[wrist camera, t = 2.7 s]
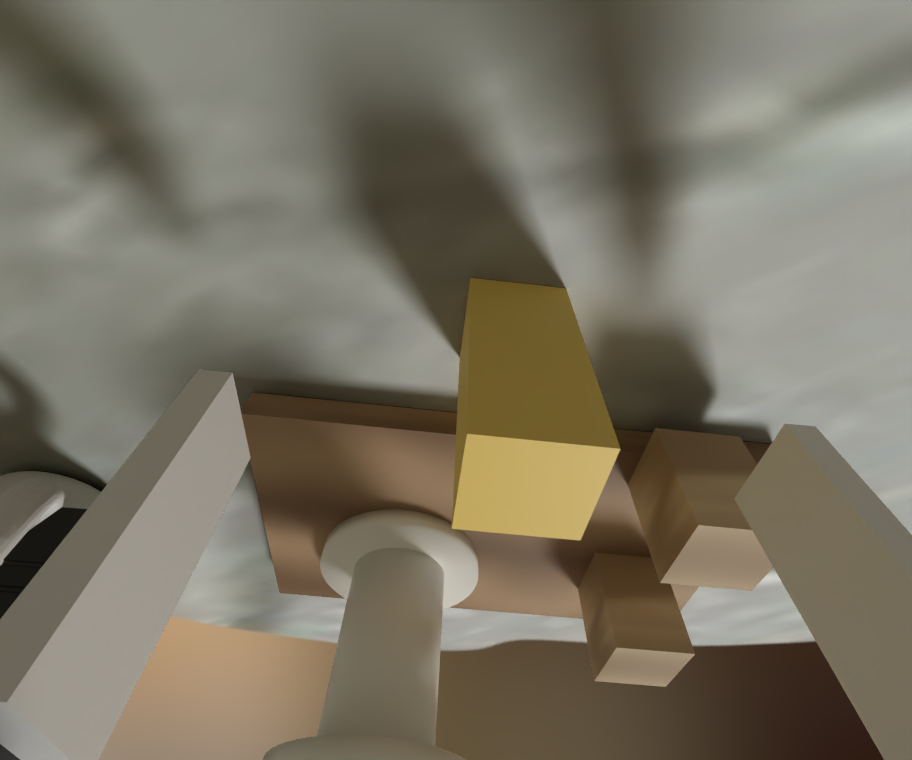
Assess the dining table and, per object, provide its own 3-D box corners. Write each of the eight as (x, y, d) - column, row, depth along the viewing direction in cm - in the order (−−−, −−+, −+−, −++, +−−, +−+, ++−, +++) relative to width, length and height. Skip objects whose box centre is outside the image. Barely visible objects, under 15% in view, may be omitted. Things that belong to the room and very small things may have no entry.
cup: (-18, 372, 18) (-299, 571, 11) (197, 461, 20) (68, 665, 14) (-31, 518, 23) (-224, 708, 17) (139, 574, 26) (28, 757, 19)
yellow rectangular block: (470, 277, 15) (466, 433, 9) (565, 288, 15) (620, 449, 9) (459, 357, 17) (451, 528, 11) (545, 366, 17) (580, 540, 11)
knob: (319, 501, 20) (235, 761, 13) (488, 517, 20) (495, 780, 13) (328, 592, 24) (269, 823, 17) (468, 604, 24) (465, 837, 17)
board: (246, 365, 17) (172, 476, 13) (790, 420, 18) (887, 542, 14) (287, 570, 25) (249, 680, 21) (661, 603, 26) (697, 715, 22)
